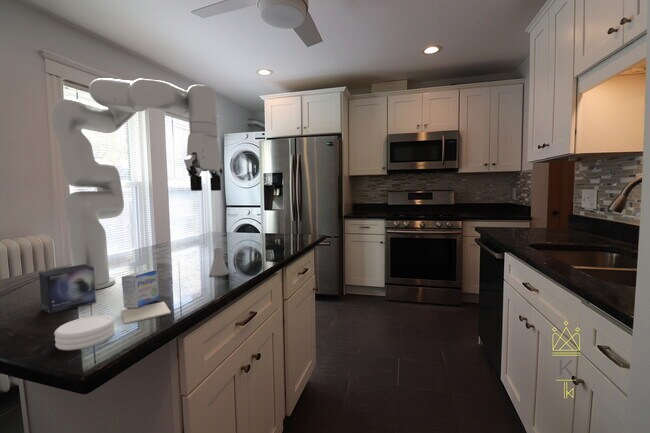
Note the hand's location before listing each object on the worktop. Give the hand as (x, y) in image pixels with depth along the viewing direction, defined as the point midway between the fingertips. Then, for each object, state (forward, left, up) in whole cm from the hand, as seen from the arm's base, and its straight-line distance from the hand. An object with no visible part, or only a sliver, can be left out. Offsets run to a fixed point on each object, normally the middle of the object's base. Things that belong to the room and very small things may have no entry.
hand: (206, 190), depth 91 cm
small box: (-15, -34, -31) cm, 49 cm away
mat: (+4, -18, -31) cm, 36 cm away
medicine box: (-3, -18, -31) cm, 36 cm away
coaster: (+12, -30, -32) cm, 45 cm away
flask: (-21, +9, -31) cm, 39 cm away
